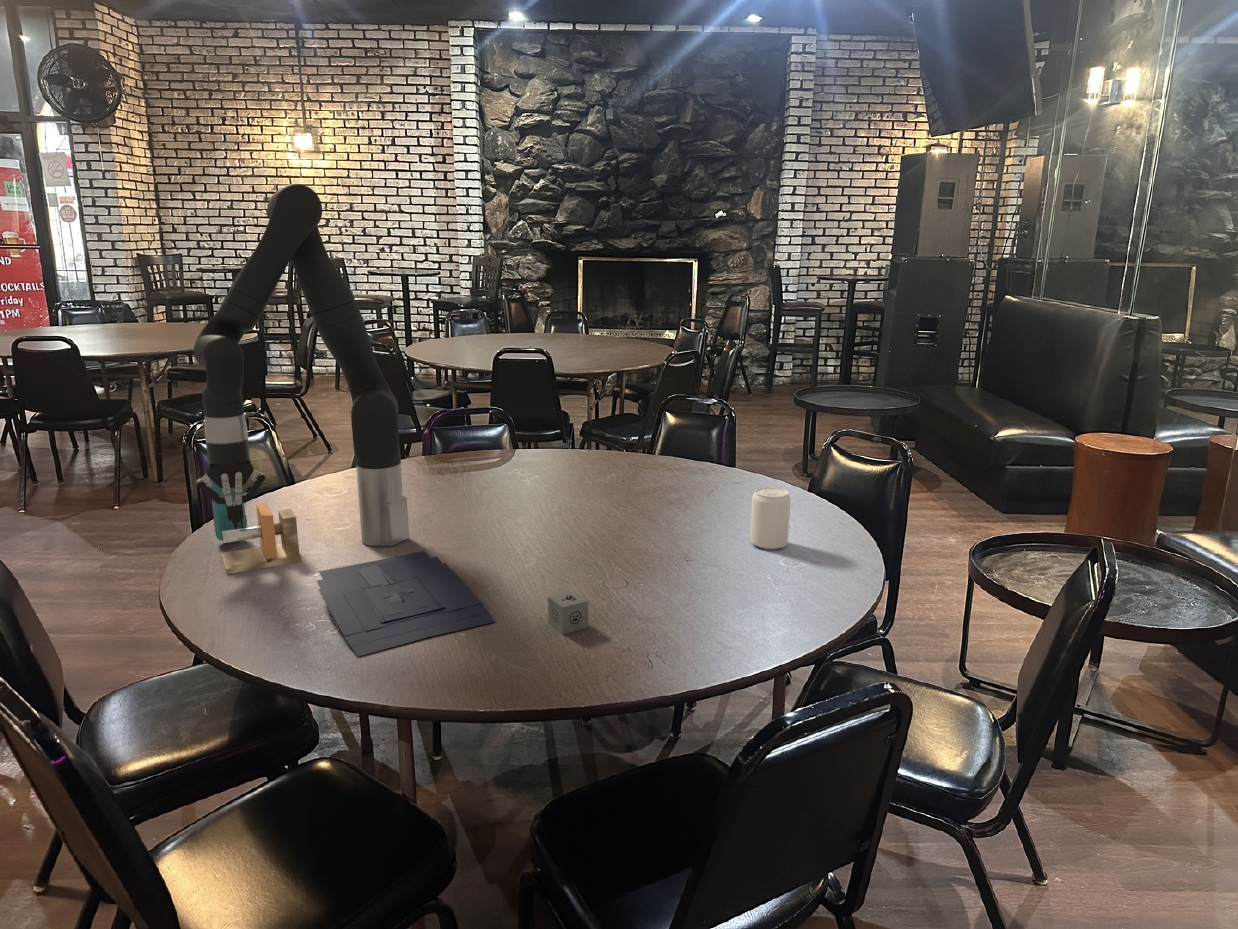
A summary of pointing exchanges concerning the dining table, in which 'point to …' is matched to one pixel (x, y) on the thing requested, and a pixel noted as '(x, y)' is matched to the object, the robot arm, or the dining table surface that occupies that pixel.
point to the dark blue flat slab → (399, 601)
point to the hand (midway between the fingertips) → (235, 521)
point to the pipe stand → (256, 556)
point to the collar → (267, 531)
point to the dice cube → (568, 612)
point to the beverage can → (770, 518)
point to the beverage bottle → (224, 514)
